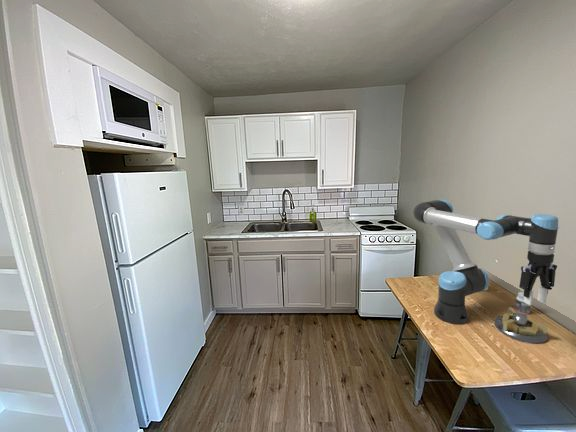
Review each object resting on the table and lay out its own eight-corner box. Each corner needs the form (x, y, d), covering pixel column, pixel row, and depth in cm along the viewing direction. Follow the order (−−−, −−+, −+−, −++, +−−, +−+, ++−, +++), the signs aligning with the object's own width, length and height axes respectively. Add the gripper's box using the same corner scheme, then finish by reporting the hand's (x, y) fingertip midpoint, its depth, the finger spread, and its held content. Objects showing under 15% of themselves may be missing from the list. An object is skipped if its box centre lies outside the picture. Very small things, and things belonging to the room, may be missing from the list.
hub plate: (499, 337, 111) (500, 334, 110) (490, 315, 126) (490, 312, 126) (554, 348, 102) (555, 344, 102) (537, 322, 117) (537, 319, 117)
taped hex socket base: (499, 329, 113) (500, 321, 112) (505, 313, 123) (506, 305, 122) (545, 344, 102) (546, 335, 101) (547, 326, 112) (548, 317, 111)
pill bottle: (513, 307, 130) (515, 290, 128) (527, 309, 128) (529, 292, 126) (517, 313, 125) (518, 296, 123) (531, 315, 123) (534, 298, 121)
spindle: (514, 331, 113) (515, 317, 112) (511, 325, 117) (512, 312, 116) (527, 334, 111) (529, 319, 109) (523, 328, 115) (525, 314, 113)
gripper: (528, 258, 95) (522, 310, 100) (573, 252, 96) (565, 304, 100) (510, 251, 102) (505, 300, 107) (551, 246, 103) (545, 295, 108)
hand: (534, 302), depth 104 cm, fingers open, 6 cm apart
